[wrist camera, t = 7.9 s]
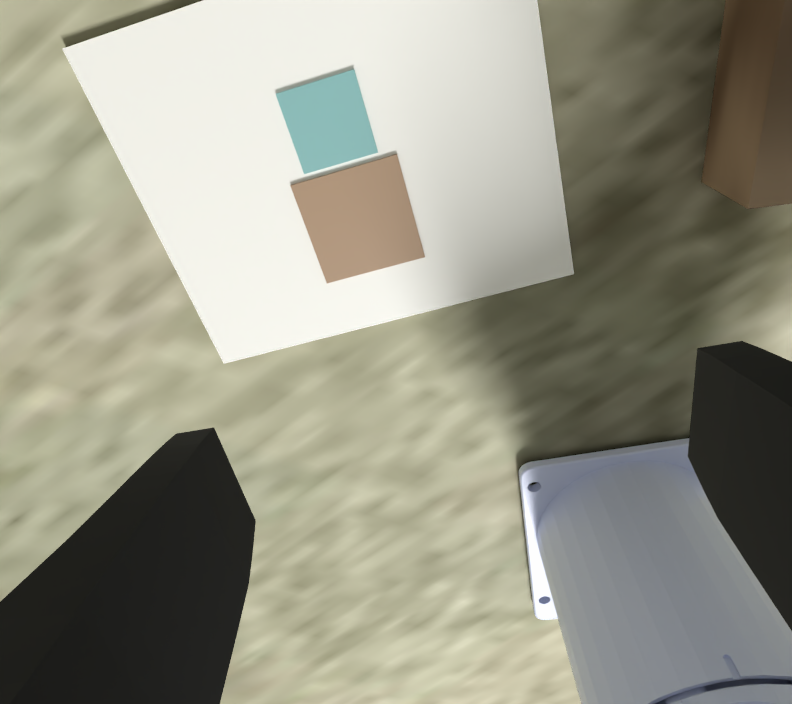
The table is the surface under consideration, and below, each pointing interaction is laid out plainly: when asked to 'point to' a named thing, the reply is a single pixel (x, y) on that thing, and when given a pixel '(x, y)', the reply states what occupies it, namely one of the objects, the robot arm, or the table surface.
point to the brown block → (752, 106)
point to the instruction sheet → (336, 157)
